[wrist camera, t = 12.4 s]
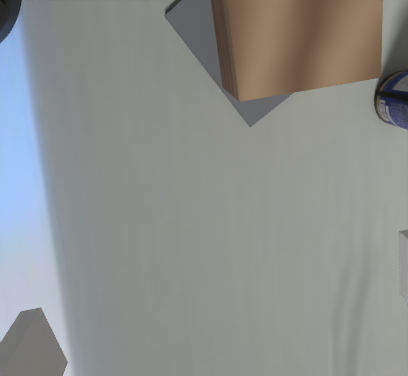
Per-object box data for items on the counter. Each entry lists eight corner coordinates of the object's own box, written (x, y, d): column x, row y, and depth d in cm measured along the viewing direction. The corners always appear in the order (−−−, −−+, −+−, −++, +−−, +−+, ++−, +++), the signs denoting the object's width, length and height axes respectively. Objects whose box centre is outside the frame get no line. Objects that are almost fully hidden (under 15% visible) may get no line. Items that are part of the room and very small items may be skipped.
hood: (222, 87, 38) (239, 101, 26) (207, -22, 34) (218, -67, 22) (317, 71, 38) (380, 77, 25) (313, -41, 34) (384, -97, 22)
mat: (164, 16, 36) (164, 15, 35) (281, -92, 33) (283, -95, 32) (249, 126, 40) (250, 127, 40) (358, 39, 37) (361, 38, 37)
